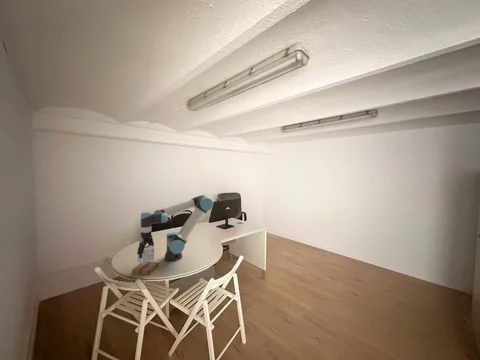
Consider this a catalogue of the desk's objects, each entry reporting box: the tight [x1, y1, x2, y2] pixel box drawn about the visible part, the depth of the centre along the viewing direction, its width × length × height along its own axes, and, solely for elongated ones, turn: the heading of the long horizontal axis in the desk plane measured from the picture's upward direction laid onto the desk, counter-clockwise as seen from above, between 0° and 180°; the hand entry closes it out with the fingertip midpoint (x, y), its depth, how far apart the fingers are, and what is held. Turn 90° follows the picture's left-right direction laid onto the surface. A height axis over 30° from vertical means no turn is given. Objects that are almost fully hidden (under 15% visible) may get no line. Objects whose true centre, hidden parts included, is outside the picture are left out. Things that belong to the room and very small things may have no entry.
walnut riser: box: [131, 261, 160, 276], centre depth 157 cm, size 14×14×3 cm
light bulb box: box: [137, 244, 155, 264], centre depth 156 cm, size 11×7×11 cm, turn 141°
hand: (146, 258), depth 156 cm, fingers closed on light bulb box, 12 cm apart
